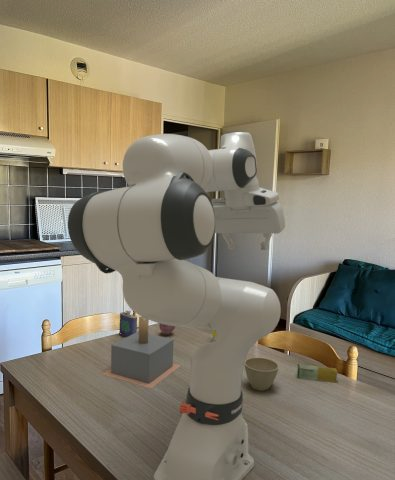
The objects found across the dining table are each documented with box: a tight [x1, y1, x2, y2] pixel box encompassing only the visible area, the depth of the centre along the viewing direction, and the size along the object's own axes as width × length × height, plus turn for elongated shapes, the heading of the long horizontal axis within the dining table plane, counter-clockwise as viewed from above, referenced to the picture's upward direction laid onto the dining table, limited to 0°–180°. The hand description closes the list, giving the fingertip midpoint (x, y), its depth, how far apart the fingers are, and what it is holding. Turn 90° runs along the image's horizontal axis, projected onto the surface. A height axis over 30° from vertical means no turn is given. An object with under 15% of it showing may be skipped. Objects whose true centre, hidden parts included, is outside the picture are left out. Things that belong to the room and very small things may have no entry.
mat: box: [102, 363, 182, 389], centre depth 125 cm, size 18×18×1 cm
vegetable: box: [158, 323, 176, 336], centre depth 158 cm, size 6×6×10 cm
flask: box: [119, 310, 138, 339], centre depth 154 cm, size 9×3×11 cm, turn 50°
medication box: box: [296, 363, 338, 383], centre depth 124 cm, size 12×3×4 cm, turn 80°
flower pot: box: [244, 356, 279, 392], centre depth 117 cm, size 10×10×7 cm
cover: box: [110, 316, 174, 384], centre depth 124 cm, size 14×14×17 cm
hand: (248, 249), depth 103 cm, fingers open, 8 cm apart
